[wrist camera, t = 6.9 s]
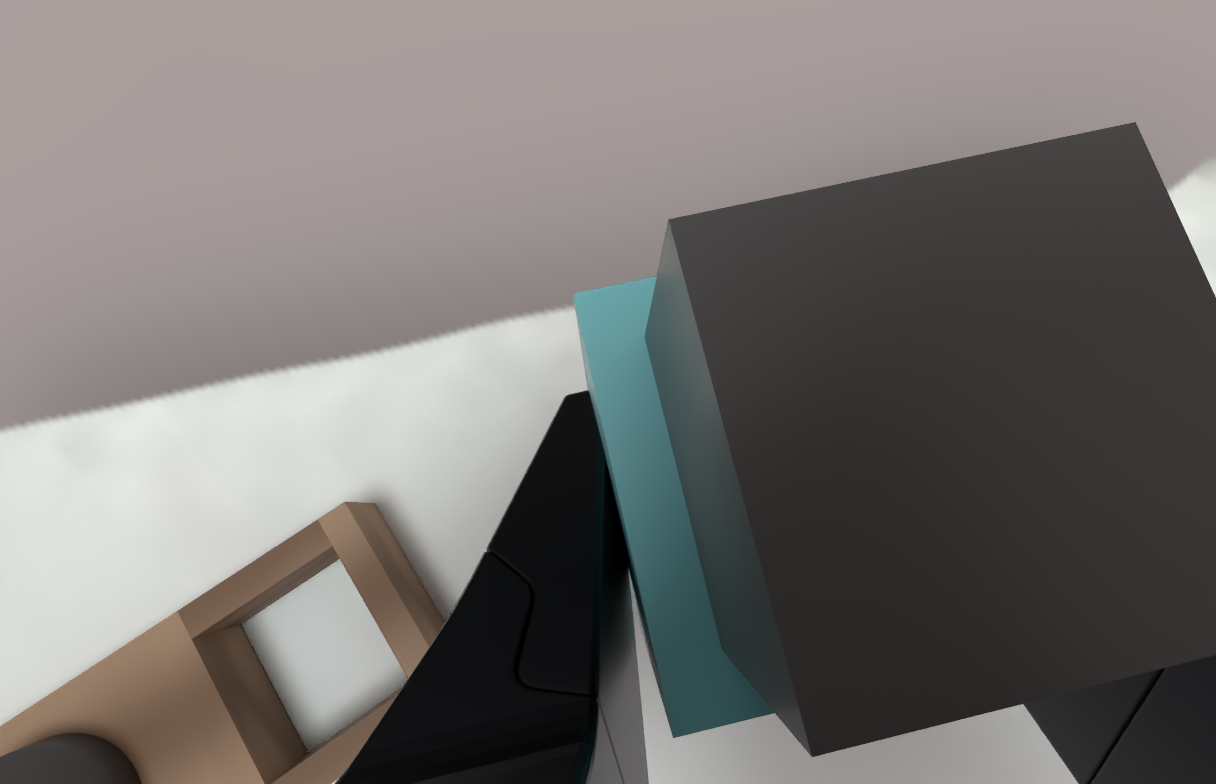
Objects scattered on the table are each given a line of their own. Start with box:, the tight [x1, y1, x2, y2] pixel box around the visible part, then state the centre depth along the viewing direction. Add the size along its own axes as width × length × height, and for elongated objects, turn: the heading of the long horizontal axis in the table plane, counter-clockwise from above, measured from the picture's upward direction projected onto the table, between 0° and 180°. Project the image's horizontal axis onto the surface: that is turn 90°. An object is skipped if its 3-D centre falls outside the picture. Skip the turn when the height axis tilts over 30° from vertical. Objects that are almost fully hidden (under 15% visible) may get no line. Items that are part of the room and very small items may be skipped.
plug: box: [573, 122, 1216, 757], centre depth 9 cm, size 4×4×13 cm
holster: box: [0, 502, 445, 784], centre depth 19 cm, size 7×16×4 cm, turn 124°
